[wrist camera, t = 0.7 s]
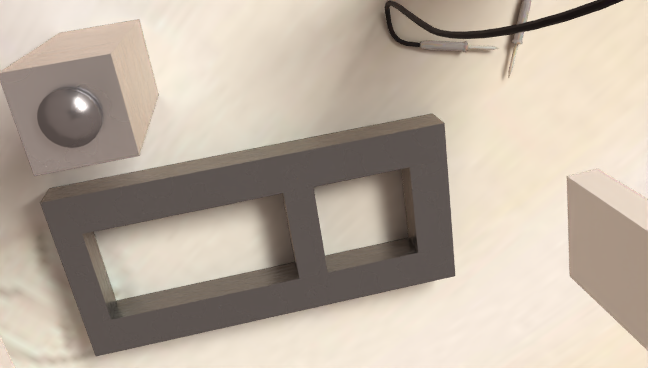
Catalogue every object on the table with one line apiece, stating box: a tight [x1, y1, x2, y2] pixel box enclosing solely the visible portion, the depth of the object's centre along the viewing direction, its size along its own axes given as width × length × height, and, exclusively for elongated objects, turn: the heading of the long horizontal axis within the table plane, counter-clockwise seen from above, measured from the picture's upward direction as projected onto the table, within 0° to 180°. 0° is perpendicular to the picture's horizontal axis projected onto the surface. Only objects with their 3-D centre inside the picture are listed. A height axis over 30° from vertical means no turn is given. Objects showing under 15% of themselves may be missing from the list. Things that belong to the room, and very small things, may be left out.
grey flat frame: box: [41, 114, 455, 356], centre depth 36 cm, size 10×22×2 cm, turn 98°
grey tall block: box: [0, 19, 159, 176], centre depth 27 cm, size 4×4×10 cm
